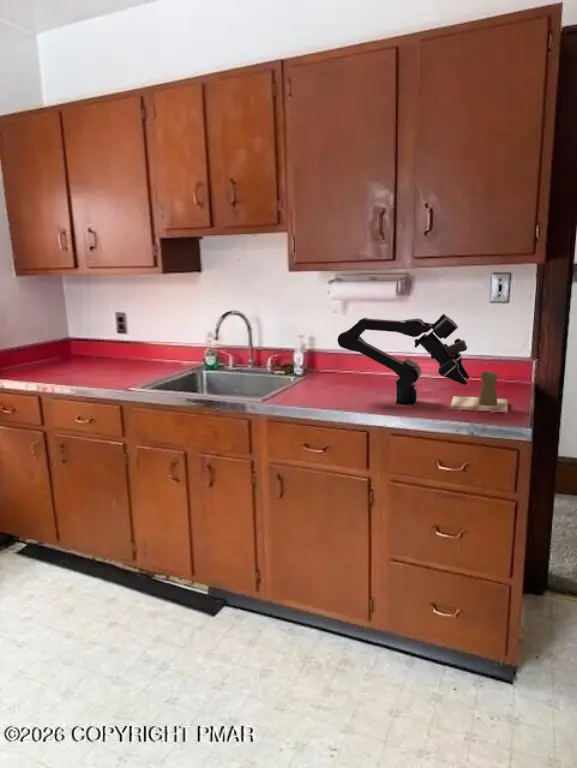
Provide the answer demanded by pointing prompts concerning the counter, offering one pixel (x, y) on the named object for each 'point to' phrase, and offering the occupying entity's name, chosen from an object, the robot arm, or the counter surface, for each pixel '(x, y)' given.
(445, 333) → the robot arm
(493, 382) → the cork
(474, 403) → the birch board
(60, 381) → the counter surface
